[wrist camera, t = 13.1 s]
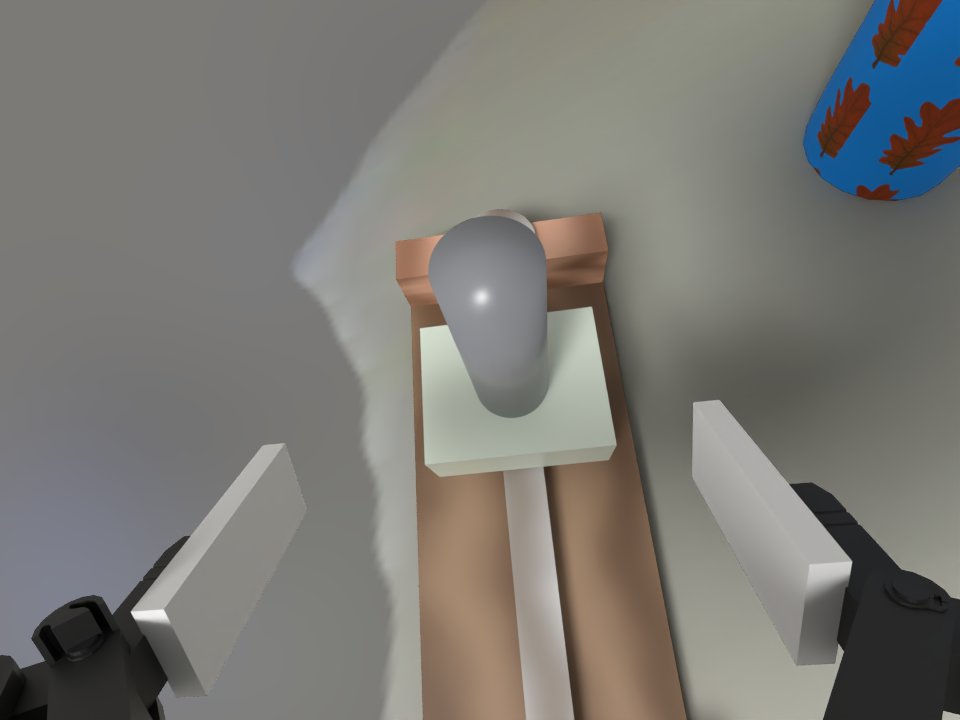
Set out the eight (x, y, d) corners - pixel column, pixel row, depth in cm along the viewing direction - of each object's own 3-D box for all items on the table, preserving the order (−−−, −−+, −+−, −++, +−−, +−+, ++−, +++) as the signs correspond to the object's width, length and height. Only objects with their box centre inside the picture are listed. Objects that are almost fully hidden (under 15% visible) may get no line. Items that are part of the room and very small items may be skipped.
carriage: (587, 335, 33) (616, 150, 19) (608, 460, 30) (663, 356, 16) (434, 354, 34) (345, 191, 20) (439, 477, 31) (339, 393, 16)
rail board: (591, 250, 41) (599, 194, 34) (711, 889, 26) (760, 987, 20) (416, 274, 42) (393, 224, 36) (437, 897, 27) (404, 991, 21)
